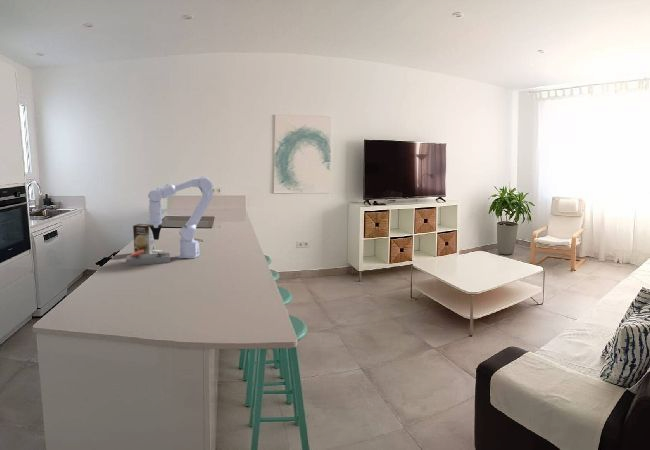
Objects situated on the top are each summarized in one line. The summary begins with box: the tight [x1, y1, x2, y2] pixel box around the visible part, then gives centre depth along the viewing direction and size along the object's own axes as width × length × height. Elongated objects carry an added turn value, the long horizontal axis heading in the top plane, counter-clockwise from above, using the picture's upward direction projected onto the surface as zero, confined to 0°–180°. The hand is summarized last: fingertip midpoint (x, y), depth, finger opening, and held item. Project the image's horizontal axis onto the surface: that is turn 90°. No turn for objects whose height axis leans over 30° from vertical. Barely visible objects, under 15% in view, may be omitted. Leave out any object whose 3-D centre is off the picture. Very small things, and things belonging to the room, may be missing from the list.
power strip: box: [125, 252, 171, 266], centre depth 203 cm, size 20×9×3 cm, turn 114°
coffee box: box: [132, 223, 156, 255], centre depth 219 cm, size 9×6×16 cm
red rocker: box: [130, 250, 144, 257], centre depth 202 cm, size 6×3×1 cm, turn 112°
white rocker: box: [152, 249, 166, 254], centre depth 206 cm, size 6×3×1 cm, turn 114°
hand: (156, 239), depth 207 cm, fingers closed
